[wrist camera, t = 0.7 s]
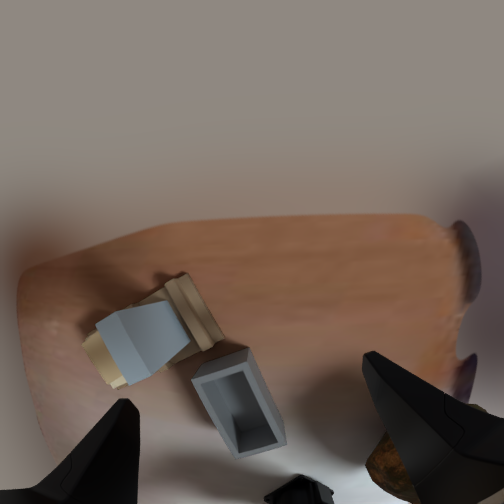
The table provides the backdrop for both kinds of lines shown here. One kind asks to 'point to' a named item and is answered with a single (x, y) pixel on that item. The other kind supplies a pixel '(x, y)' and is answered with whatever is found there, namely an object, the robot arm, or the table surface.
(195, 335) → the rack
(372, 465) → the rock
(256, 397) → the holder
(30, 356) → the table surface
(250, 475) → the table surface
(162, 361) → the panel
